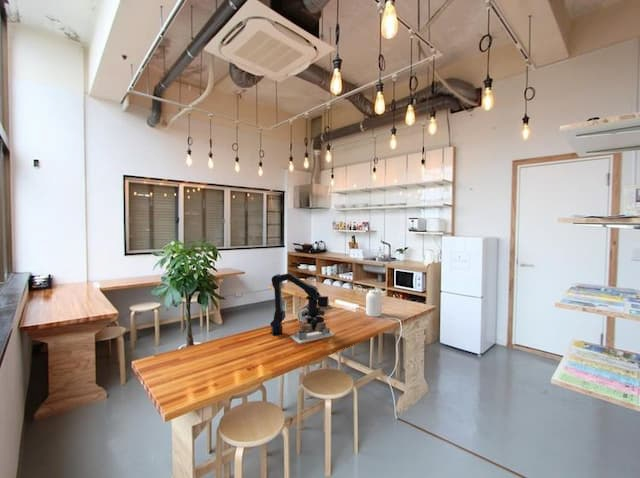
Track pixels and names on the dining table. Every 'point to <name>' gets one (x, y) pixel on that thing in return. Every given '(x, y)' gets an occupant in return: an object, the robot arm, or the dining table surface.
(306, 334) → the end cap plate
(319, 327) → the slat
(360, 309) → the dining table surface
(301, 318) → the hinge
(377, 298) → the can
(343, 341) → the dining table surface
